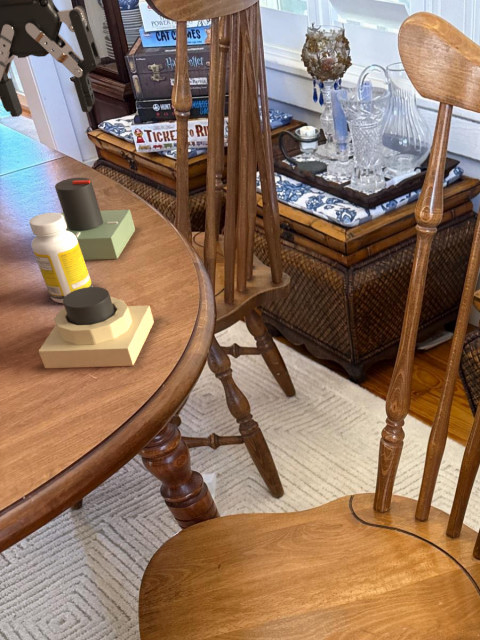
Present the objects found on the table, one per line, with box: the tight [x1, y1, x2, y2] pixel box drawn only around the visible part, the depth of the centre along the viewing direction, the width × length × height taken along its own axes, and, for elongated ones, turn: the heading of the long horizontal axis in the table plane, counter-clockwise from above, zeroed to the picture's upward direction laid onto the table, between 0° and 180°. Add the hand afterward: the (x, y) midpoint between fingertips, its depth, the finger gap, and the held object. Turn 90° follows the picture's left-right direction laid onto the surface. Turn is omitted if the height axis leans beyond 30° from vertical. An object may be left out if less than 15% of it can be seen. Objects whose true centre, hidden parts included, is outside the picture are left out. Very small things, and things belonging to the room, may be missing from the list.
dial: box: [54, 177, 103, 231], centre depth 108 cm, size 5×5×6 cm
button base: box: [38, 296, 155, 369], centre depth 90 cm, size 10×10×4 cm
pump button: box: [62, 286, 115, 325], centre depth 88 cm, size 5×5×2 cm
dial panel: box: [60, 209, 136, 261], centre depth 111 cm, size 10×10×3 cm
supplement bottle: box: [28, 212, 94, 304], centre depth 97 cm, size 5×5×10 cm
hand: (52, 112), depth 95 cm, fingers open, 8 cm apart
